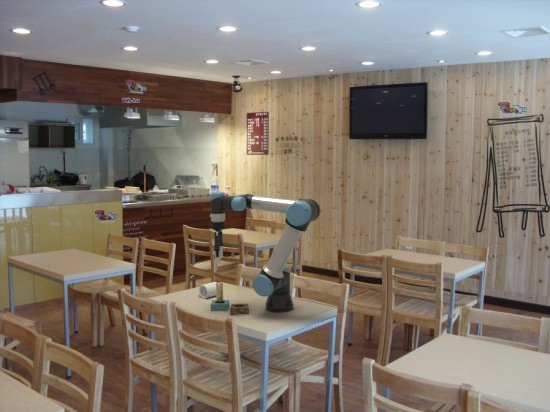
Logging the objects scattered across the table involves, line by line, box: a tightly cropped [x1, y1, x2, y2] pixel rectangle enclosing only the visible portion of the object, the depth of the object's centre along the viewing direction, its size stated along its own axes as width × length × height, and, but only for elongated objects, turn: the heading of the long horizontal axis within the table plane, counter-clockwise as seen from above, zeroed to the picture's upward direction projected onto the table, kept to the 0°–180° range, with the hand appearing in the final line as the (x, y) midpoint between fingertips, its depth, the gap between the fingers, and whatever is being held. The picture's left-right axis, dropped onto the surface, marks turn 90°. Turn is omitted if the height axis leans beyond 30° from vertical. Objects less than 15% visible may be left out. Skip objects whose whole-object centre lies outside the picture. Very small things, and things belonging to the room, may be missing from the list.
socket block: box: [210, 299, 230, 312], centre depth 310 cm, size 9×9×4 cm
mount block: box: [229, 302, 249, 316], centre depth 302 cm, size 9×9×4 cm
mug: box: [198, 281, 217, 299], centre depth 337 cm, size 12×10×8 cm
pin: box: [215, 281, 224, 303], centre depth 310 cm, size 4×4×14 cm
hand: (219, 260), depth 308 cm, fingers open, 13 cm apart
